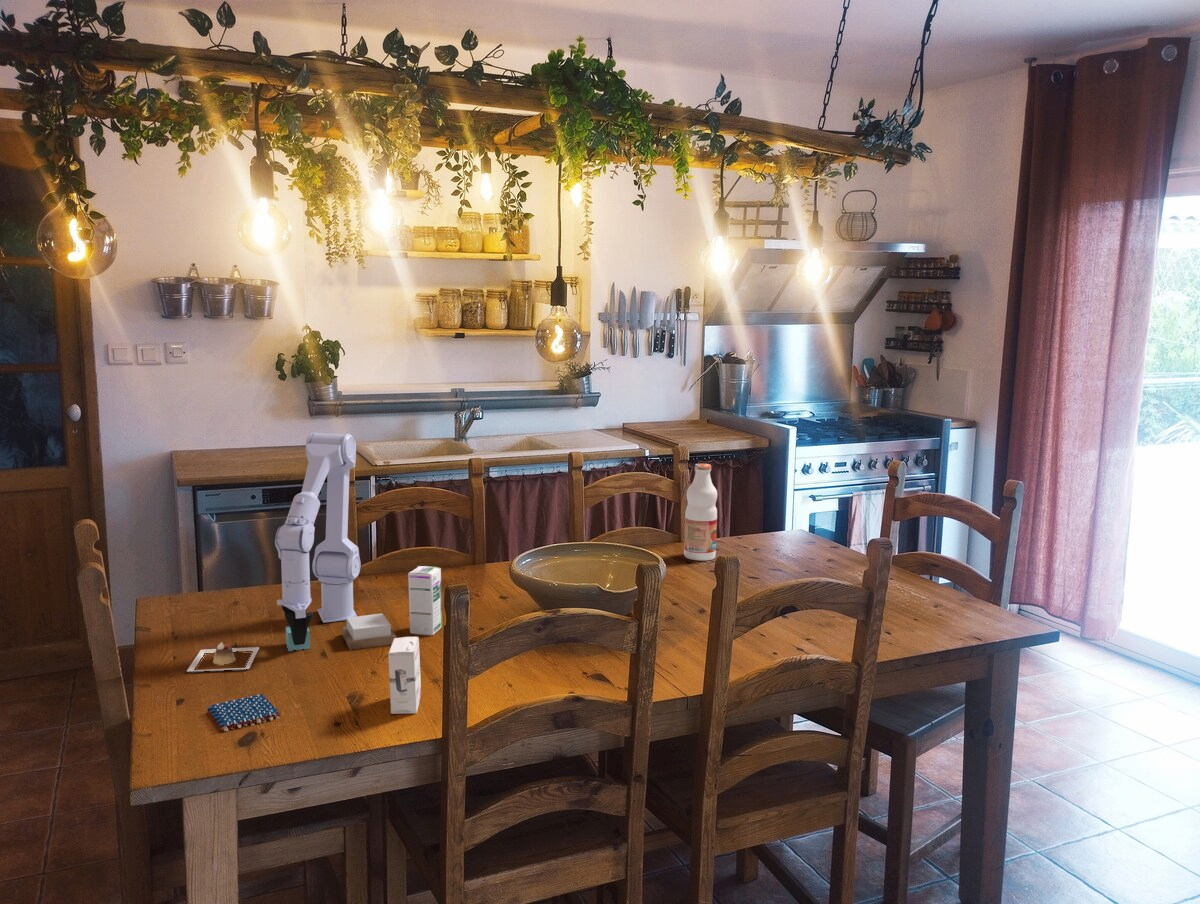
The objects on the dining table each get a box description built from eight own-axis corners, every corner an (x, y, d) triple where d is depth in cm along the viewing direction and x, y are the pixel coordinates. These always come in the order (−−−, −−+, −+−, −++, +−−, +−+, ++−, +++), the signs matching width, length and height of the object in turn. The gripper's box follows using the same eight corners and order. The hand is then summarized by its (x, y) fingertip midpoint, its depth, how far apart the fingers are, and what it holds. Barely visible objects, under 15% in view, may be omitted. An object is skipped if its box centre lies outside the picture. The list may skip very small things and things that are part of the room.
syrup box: (433, 636, 215) (432, 573, 213) (408, 633, 216) (407, 571, 214) (442, 627, 220) (442, 566, 218) (418, 625, 222) (417, 565, 219)
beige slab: (342, 637, 215) (342, 626, 214) (387, 632, 219) (387, 621, 218) (349, 653, 206) (349, 641, 205) (396, 647, 210) (396, 636, 209)
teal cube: (286, 644, 208) (285, 626, 207) (307, 641, 210) (307, 624, 209) (288, 651, 204) (287, 633, 203) (310, 648, 206) (309, 630, 205)
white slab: (346, 628, 213) (346, 617, 213) (382, 623, 217) (382, 613, 216) (353, 640, 206) (353, 629, 206) (390, 635, 210) (390, 624, 209)
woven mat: (283, 721, 172) (282, 710, 172) (221, 736, 166) (221, 725, 165) (265, 701, 180) (264, 691, 180) (206, 714, 174) (205, 704, 174)
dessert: (259, 651, 205) (259, 630, 204) (249, 673, 193) (248, 650, 192) (200, 654, 203) (199, 633, 202) (186, 676, 191) (185, 653, 190)
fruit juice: (679, 553, 289) (683, 462, 284) (709, 552, 291) (713, 461, 286) (689, 561, 280) (692, 467, 275) (719, 560, 282) (723, 467, 277)
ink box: (394, 695, 183) (393, 636, 181) (421, 695, 183) (420, 635, 181) (388, 715, 174) (387, 652, 172) (416, 714, 175) (416, 652, 173)
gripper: (273, 572, 210) (275, 631, 212) (279, 591, 196) (281, 654, 199) (306, 569, 212) (308, 627, 215) (315, 587, 199) (317, 649, 201)
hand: (297, 640), depth 207 cm, fingers closed on teal cube, 4 cm apart
